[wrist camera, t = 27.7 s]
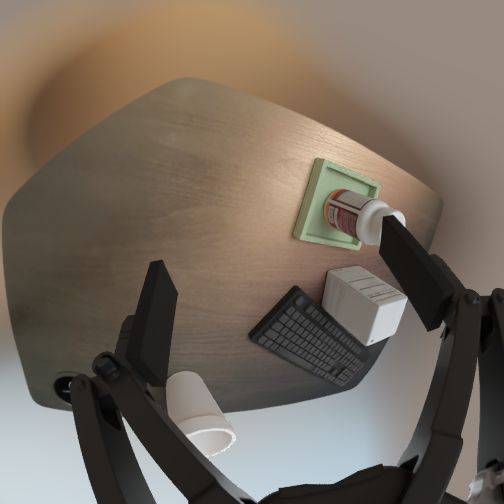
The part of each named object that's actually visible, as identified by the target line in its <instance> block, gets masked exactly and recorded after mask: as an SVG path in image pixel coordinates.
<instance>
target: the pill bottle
mask: <svg viewBox="0 0 504 504" xmlns="http://www.w3.org/2000/svg"><path fill="white" fill-rule="evenodd" d="M388 215H394V216H395V217H396V218H397V219H398V220H399V221H400V222H401V223H402V224H403V225H404V227H405V218H404V216H403V214H402V213H401V212H399V211H397V210H395V209H393V208H390V207H388V206H387V205H386V204H385V203H384V202H382V201H380V200H377V199H374V198H371V197H368V196H365V195H362V194H359V193H356V192H353V191H350V190H347V189H338V190H336V191H334V192H333V193H331V194H330V196H329V197H328V198H327V200H326V202H325V206H324V216H325V219H326V221H327V223H328V224H329V225H330V226H332V227H334V228H336V229H338V230H339V231H341V232H343V233H345V234H347V235H349V236H351V237H353V238H355V239H357V240H359V241H361V242H363V243H365V244H367V245H377V246H379V247H380V241H381V230H382V218H383V216H388Z"/></svg>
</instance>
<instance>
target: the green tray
mask: <svg viewBox="0 0 504 504" xmlns="http://www.w3.org/2000/svg"><path fill="white" fill-rule="evenodd" d="M380 187H381V184H379V183H377V182H375V181H373V180H371V179H369V178H367V177H365V176H362V175H360V174H358V173H356V172H354V171H351V170H349V169H347V168H344V167H342V166H340V165H337V164H335V163H333V162H330V161H328V160H325V159H321V158H316V160H315V164H314V167H313V170H312V174H311V177H310V180H309V184H308V187H307V190H306V194H305V197H304V200H303V203H302V207H301V210H300V213H299V216H298V219H297V222H296V226H295V229H294V232H293V236H295V237H296V238H298V239H299V240H304V241H309V242H315V243H320V244H326V245H331V246H336V247H342V248H347V249H352V250H358V251H359V249H360V247H361V244H362V242H361V241H359V240H357V239H355V238H353V237H351V236H349V235H347V234H345V233H343V232H341V231H339V230H338V229H336V228H334V227H332V226H330V225H329V224H328V223H327V221H326V219H325V216H324V206H325V202H326V200H327V198H328V197H329V196H330V194H331V193H333V192H334V191H336V190H338V189H347V190H350V191H353V192H356V193H359V194H362V195H365V196H368V197H371V198H374V199H377V197H378V193H379V190H380Z"/></svg>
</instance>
